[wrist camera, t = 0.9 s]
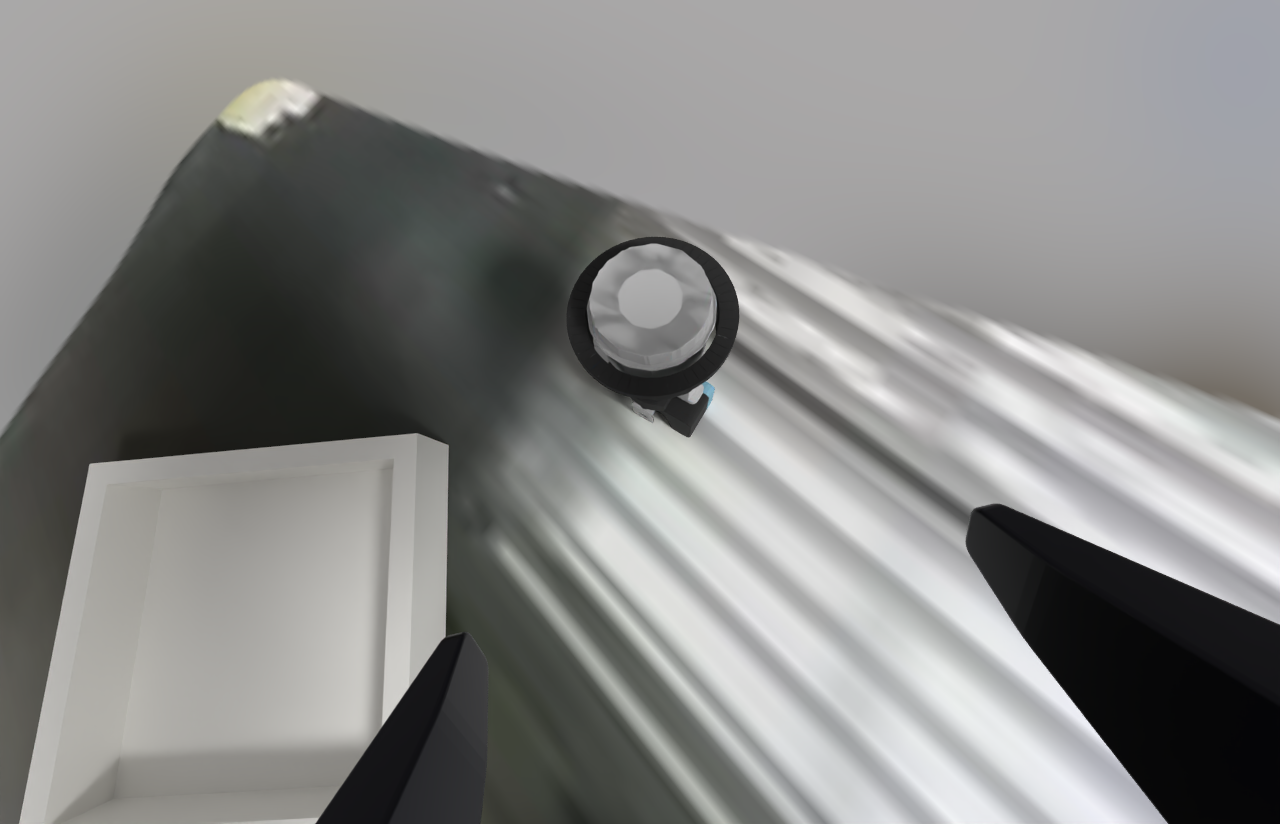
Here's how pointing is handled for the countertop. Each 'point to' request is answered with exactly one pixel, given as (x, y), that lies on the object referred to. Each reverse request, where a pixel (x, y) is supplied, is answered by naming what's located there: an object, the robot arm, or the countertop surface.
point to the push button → (655, 326)
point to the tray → (239, 630)
